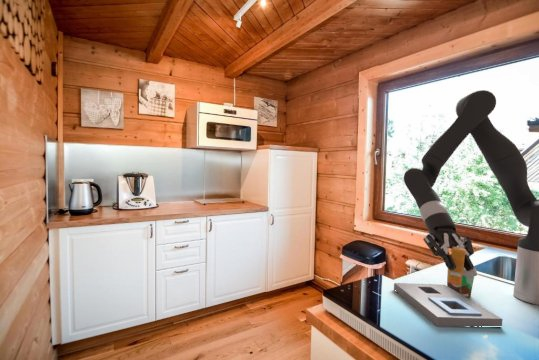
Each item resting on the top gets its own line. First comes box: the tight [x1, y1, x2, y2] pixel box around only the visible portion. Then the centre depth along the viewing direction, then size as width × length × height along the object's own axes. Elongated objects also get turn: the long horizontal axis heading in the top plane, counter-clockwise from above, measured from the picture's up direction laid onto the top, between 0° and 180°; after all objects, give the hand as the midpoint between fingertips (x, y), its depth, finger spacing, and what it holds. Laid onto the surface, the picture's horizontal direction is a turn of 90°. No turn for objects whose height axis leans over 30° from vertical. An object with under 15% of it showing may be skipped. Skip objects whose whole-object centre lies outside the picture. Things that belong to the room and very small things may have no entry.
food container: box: [446, 266, 478, 299], centre depth 94 cm, size 12×6×10 cm, turn 168°
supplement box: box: [447, 246, 466, 286], centre depth 78 cm, size 3×3×10 cm
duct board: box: [393, 282, 503, 328], centre depth 83 cm, size 18×22×3 cm
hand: (461, 269), depth 76 cm, fingers closed on supplement box, 4 cm apart
